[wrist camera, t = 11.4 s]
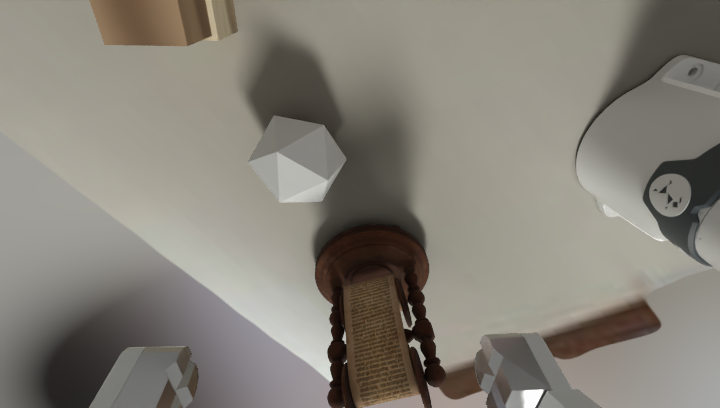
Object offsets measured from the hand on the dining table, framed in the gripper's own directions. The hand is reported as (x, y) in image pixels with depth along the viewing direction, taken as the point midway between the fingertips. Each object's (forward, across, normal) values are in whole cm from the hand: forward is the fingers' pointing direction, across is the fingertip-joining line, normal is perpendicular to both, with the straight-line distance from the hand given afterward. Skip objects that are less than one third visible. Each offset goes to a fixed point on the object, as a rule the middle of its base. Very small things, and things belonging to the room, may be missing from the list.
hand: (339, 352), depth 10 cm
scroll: (+29, -4, +23) cm, 38 cm away
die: (+29, +4, +6) cm, 30 cm away
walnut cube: (+23, +12, -8) cm, 27 cm away
